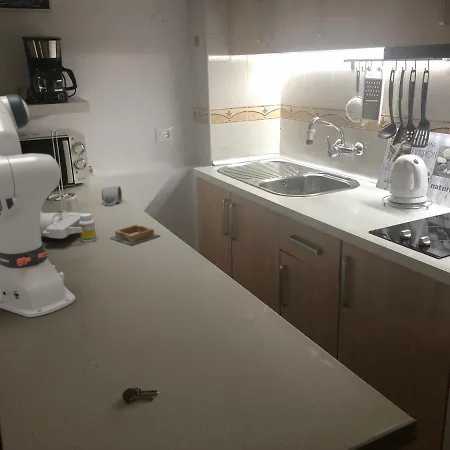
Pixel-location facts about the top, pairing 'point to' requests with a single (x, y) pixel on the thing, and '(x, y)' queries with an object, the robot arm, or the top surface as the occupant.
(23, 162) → the robot arm
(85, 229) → the supplement bottle
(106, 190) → the ceramic mug
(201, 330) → the top surface
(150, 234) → the wooden tray
